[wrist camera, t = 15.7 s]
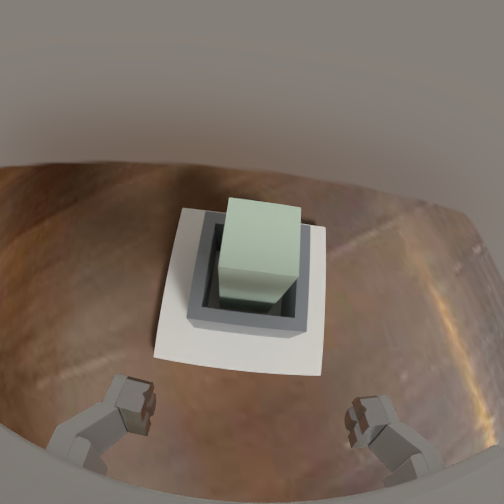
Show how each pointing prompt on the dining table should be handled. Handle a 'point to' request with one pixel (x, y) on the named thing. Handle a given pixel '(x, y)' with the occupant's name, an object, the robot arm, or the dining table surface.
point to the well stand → (237, 321)
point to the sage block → (258, 254)
